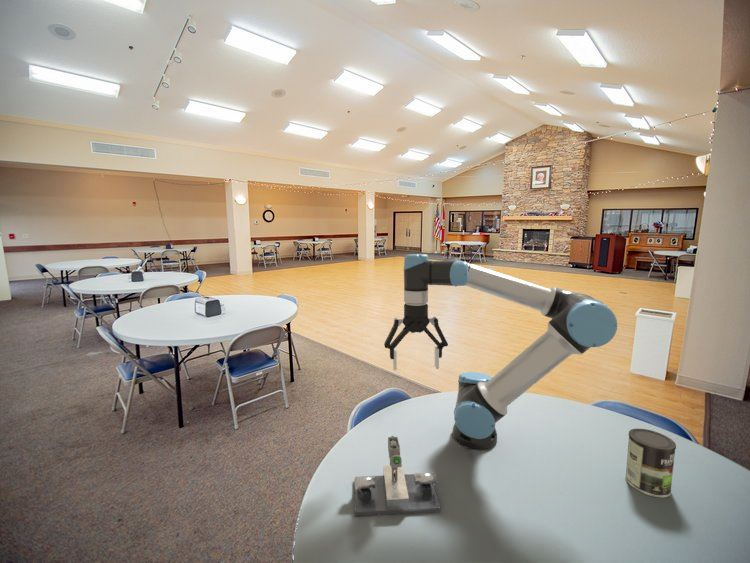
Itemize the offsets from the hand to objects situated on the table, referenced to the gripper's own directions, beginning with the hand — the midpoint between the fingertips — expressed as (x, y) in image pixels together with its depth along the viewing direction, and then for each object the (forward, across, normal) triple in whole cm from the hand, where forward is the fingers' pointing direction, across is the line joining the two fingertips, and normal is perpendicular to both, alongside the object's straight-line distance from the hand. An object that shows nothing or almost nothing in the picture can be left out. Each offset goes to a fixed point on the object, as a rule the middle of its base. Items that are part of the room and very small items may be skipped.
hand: (415, 367), depth 110 cm
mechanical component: (+24, +9, +19) cm, 32 cm away
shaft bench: (+29, +9, +20) cm, 36 cm away
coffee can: (+29, -63, +20) cm, 72 cm away
